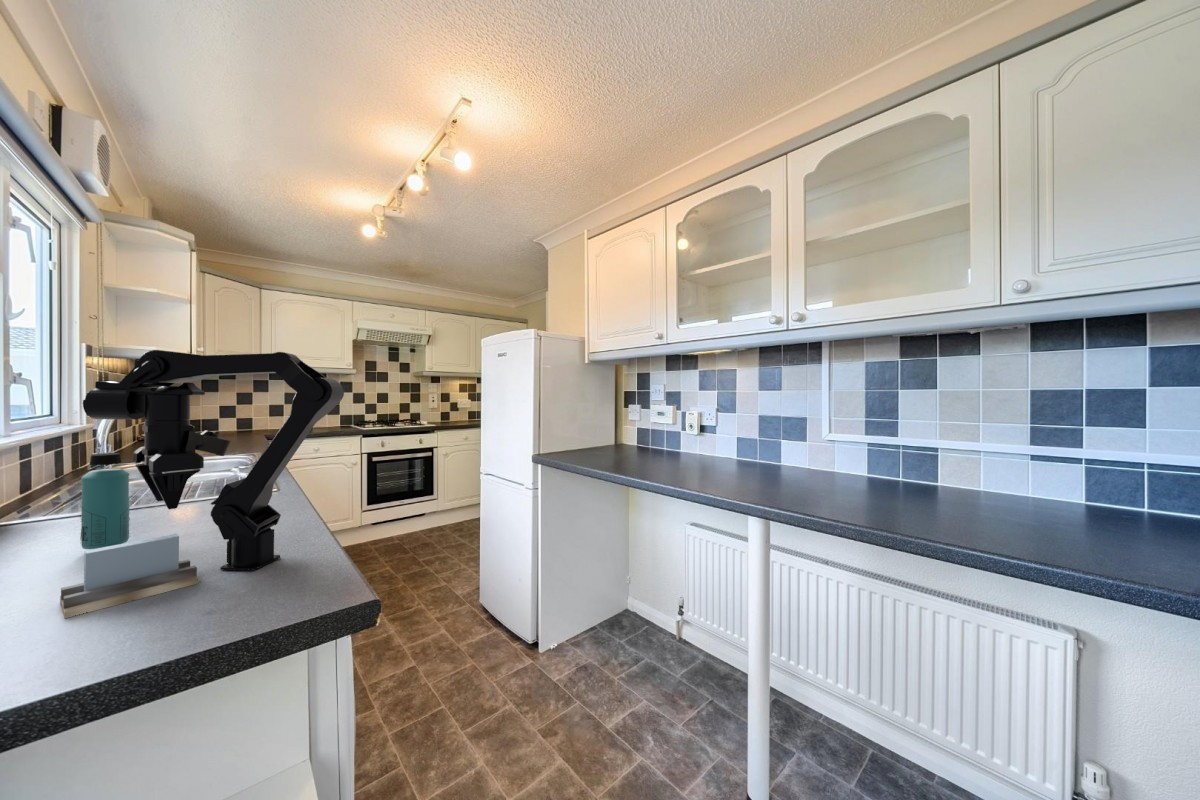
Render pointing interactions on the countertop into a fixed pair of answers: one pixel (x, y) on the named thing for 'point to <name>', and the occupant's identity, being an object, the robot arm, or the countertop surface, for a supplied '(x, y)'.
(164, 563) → the door panel
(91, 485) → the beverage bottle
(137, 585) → the door track
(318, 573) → the countertop surface
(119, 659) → the countertop surface
